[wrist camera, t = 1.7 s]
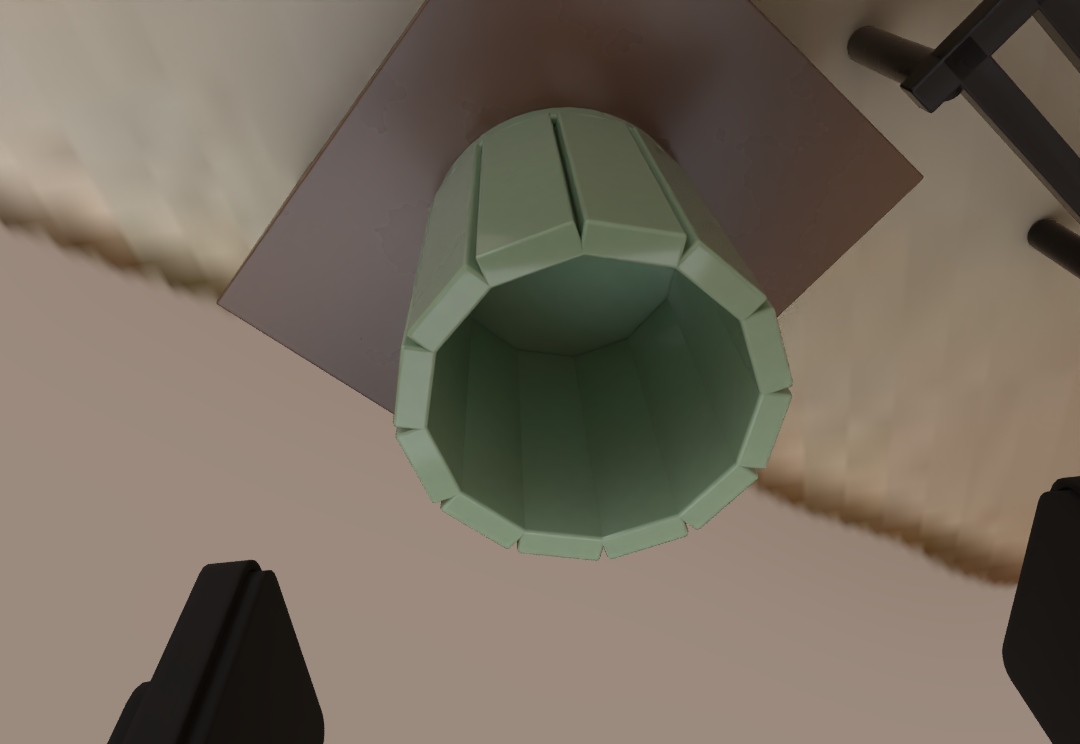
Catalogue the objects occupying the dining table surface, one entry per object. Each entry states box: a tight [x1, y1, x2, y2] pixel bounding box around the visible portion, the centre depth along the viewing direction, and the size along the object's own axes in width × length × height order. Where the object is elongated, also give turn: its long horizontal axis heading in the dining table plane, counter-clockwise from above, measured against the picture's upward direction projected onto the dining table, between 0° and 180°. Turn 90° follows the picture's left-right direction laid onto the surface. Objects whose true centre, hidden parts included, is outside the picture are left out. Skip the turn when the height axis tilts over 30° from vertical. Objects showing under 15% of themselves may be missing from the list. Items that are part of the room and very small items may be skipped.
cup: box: [393, 107, 793, 560], centre depth 18 cm, size 7×7×8 cm
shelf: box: [217, 0, 923, 414], centre depth 26 cm, size 12×14×10 cm
